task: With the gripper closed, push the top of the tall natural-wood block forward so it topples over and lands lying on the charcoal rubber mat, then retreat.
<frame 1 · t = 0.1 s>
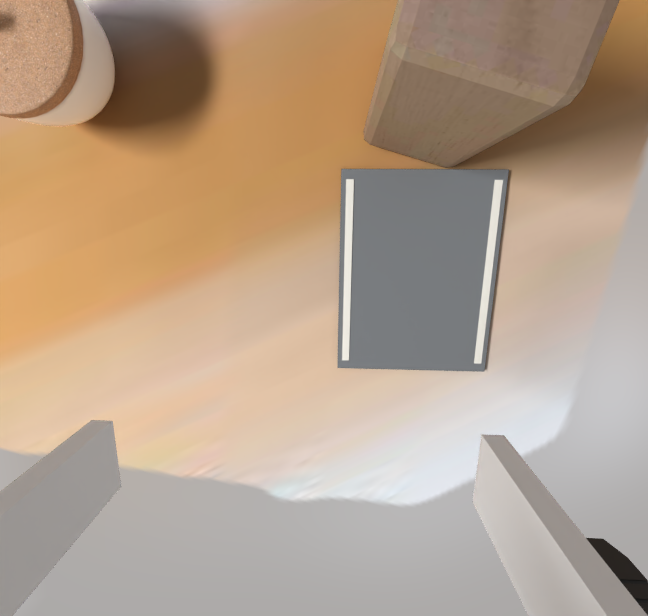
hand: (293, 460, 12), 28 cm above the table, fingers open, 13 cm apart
wooden block: (422, 107, 35), on the table
lidded bowl: (80, 76, 36), on the table
mat: (415, 275, 39), on the table
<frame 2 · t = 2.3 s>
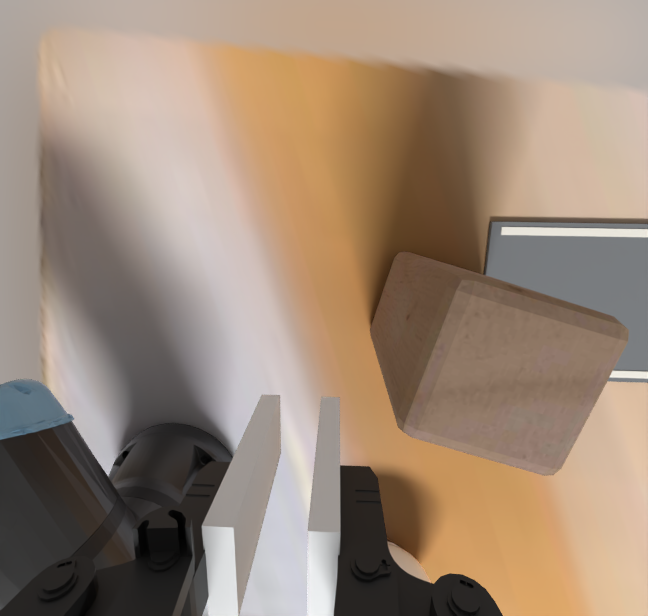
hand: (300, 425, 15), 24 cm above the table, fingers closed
wooden block: (423, 305, 38), on the table
lidded bowl: (379, 560, 46), on the table
mat: (584, 304, 37), on the table
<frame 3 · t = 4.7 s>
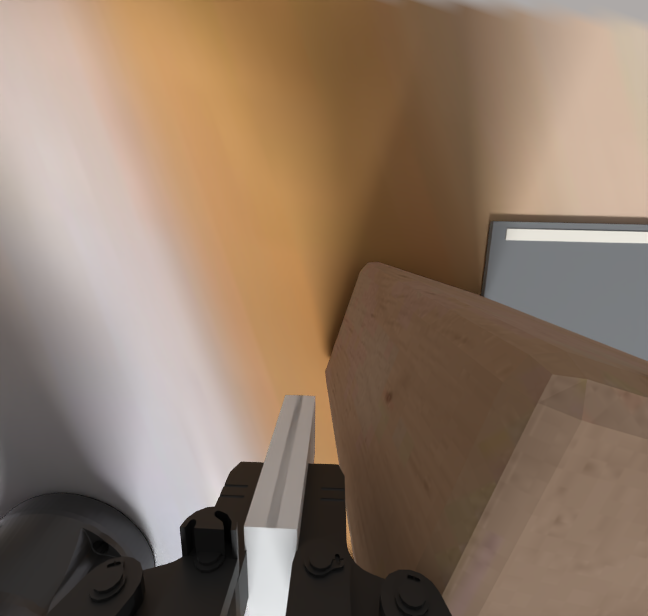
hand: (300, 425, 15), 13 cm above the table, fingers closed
wooden block: (400, 336, 27), on the table, touching gripper, hand, mat
mat: (618, 336, 27), on the table
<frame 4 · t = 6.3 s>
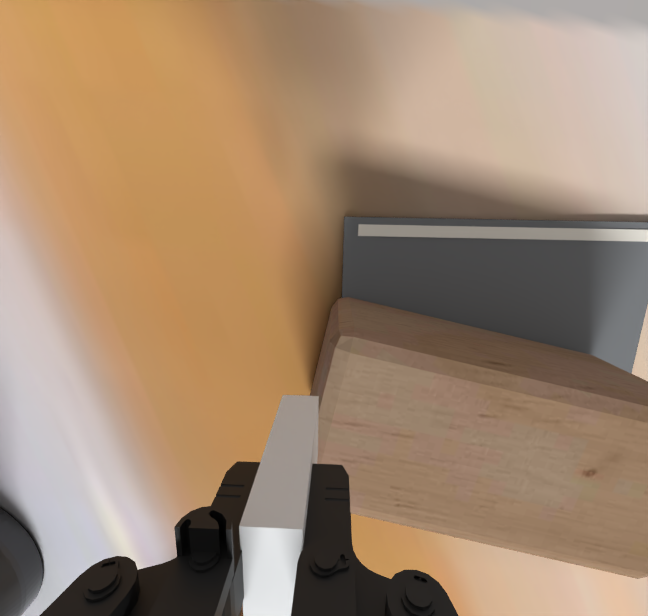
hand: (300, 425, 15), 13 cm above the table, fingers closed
wooden block: (312, 380, 22), point 6 cm above the table, touching mat
mat: (485, 334, 26), on the table
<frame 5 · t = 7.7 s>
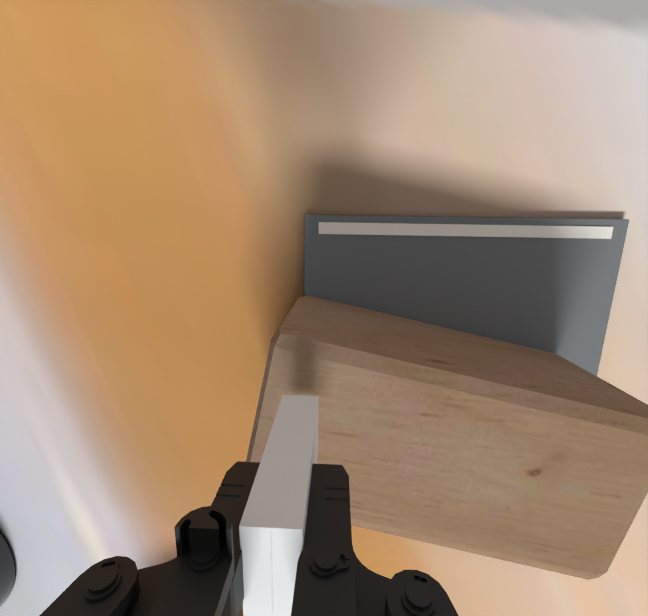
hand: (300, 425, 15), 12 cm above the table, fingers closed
wooden block: (267, 379, 22), point 6 cm above the table, touching mat
mat: (449, 333, 26), on the table
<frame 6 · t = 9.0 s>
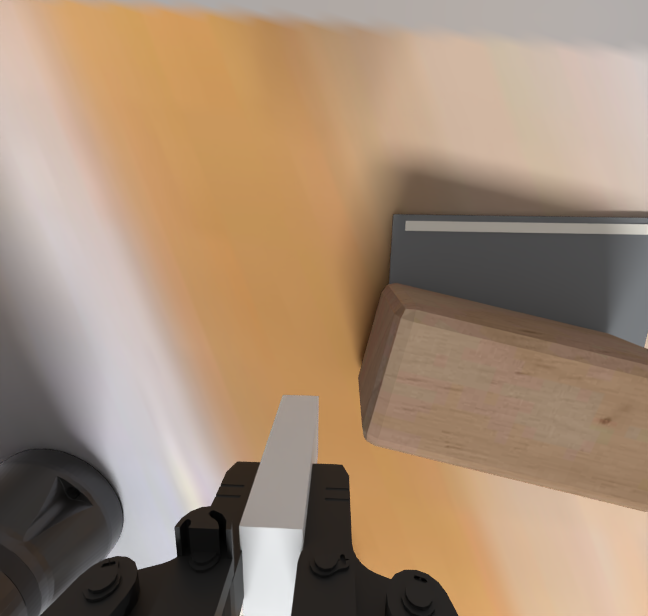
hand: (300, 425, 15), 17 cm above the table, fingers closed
wooden block: (370, 350, 26), point 6 cm above the table, touching mat
mat: (513, 316, 30), on the table
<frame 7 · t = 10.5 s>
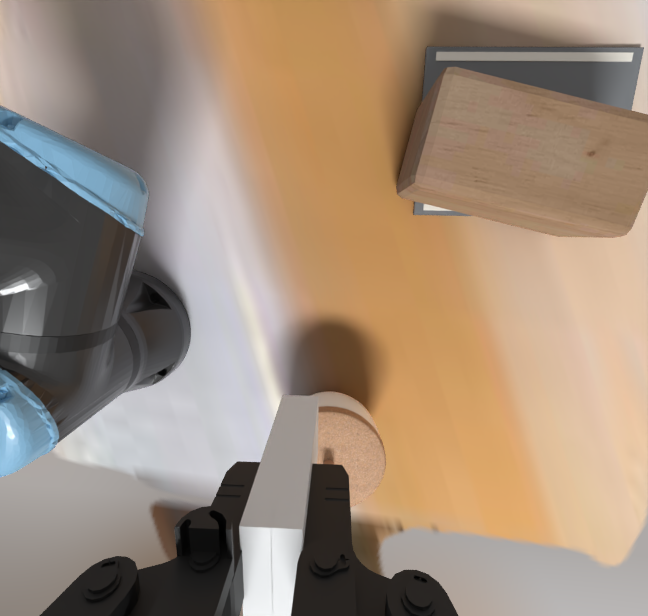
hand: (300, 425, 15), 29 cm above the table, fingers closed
wooden block: (412, 139, 34), point 6 cm above the table, touching mat
lidded bowl: (330, 418, 47), on the table
mat: (519, 137, 38), on the table
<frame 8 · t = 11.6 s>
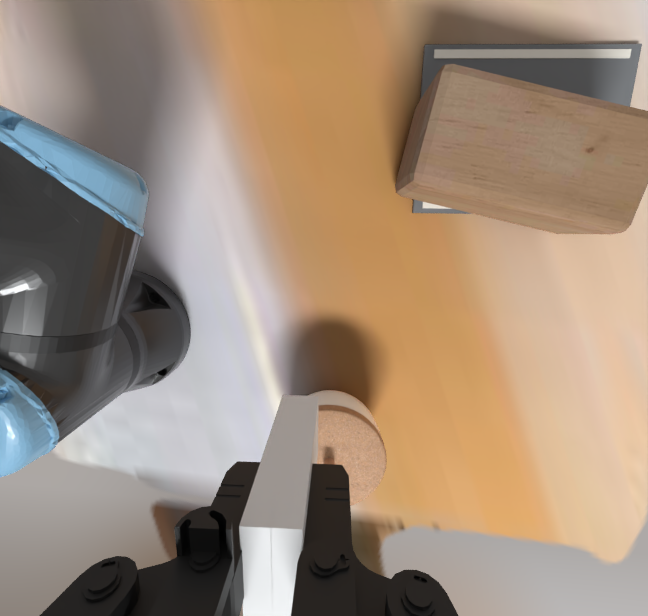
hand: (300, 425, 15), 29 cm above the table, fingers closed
wooden block: (410, 137, 34), point 6 cm above the table, touching mat
lidded bowl: (330, 417, 47), on the table
mat: (518, 134, 38), on the table
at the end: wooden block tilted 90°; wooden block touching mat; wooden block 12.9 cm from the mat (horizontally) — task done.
